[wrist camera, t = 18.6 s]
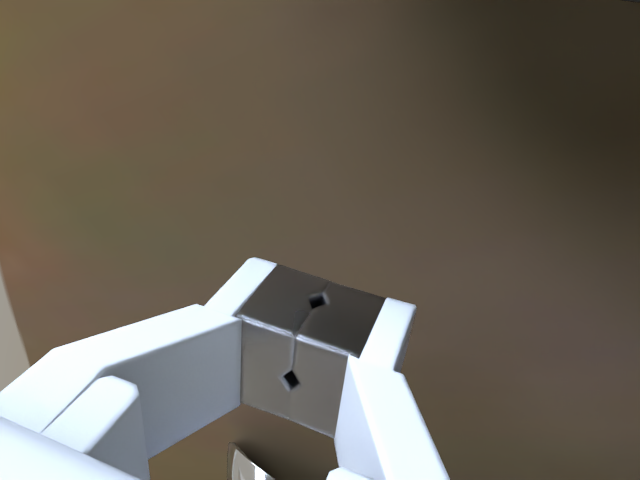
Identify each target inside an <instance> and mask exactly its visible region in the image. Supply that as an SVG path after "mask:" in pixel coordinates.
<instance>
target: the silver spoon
mask: <svg viewBox="0 0 640 480" xmlns="http://www.w3.org/2000/svg"><path fill="white" fill-rule="evenodd" d="M227 480H276V479H275V478H273V477H272V476H270V475H269V474H268V473H266V472H265V471H264V470H262V469H261V468H260V467H259V466H257V465H256V464H255V463H254V462H253V461H251V460H250V459H249V458H248V457H247V456H246V455H245V454H244V453H243V452H242V450H241V449H240V448H239V447H238V446H237V445H236V444H235V443H234V442H229V443H228V452H227Z"/></svg>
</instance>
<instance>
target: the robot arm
mask: <svg viewBox="0 0 640 480" xmlns="http://www.w3.org/2000/svg"><path fill="white" fill-rule="evenodd" d="M416 309H417V308H416V305H413V304H410V303H406V302H402V301H399V300H395V299H391V298H384V297H381V296H377V295H374V294H370V293H367V292H364V291H360V290H357V289H354V288H350V287H347V286H344V285H340V284H337V283H334V282H332V281H329V280H326V279H323V278H320V277H316V276H313V275H310V274H307V273H304V272H301V271H298V270H295V269H292V268H289V267H286V266H283V265H278V264H276V263H273V262H270V261H266V260H263V259H260V258H257V257H253V258H250V259H248V260H247V261H246V262H245V263H244V264H243V265H242V266H241V267H240V269H239V270H238V271H237V272H236V273H235V274H234V275H233V276H232V277H231V278H230V279H229V280H228V281H227V282H226V283H225V284H224V286H223V287H222V288H221V289H220V290H219V291H218V292H217V293H216V294H215V295H214V296H213V297H212V298H211V299H210V300H209V301H208V302H207V304H206V305H205V306H201V305H198V304H195V305H191V306H188V307H185V308H182V309H179V310H175V311H172V312H169V313H166V314H163V315H159V316H156V317H153V318H150V319H147V320H143V321H140V322H137V323H134V324H131V325H128V326H124V327H121V328H118V329H115V330H112V331H108V332H105V333H102V334H99V335H96V336H92V337H89V338H86V339H83V340H80V341H76V342H73V343H70V344H67V345H64V346H60V347H57V348H54V349H52V350H51V351H50V352H49V353H47V354H46V355H45V356H44V357H43V358H41V359H40V360H39V361H38V362H36V363H35V364H34V365H33V366H32V367H30V368H29V369H28V370H27V371H26V372H24V373H23V374H22V375H21V376H20V377H18V378H17V379H16V380H15V381H13V382H12V383H11V384H10V385H8V386H7V387H6V388H5V389H4V390H2V391H1V392H0V480H150V474H149V466H148V459H150V458H151V457H153V456H155V455H156V454H158V453H160V452H162V451H163V450H165V449H167V448H168V447H170V446H172V445H173V444H175V443H177V442H179V441H180V440H182V439H184V438H185V437H187V436H189V435H190V434H192V433H194V432H196V431H197V430H199V429H201V428H202V427H204V426H206V425H207V424H209V423H211V422H213V421H214V420H216V419H218V418H219V417H221V416H223V415H224V414H226V413H228V412H230V411H231V410H233V409H235V408H236V407H238V406H240V403H243V404H246V405H249V406H252V407H255V408H257V409H260V410H263V411H266V412H269V413H272V414H274V415H277V416H280V417H283V418H286V419H288V420H291V421H293V422H296V423H298V424H300V425H303V426H305V427H308V428H310V429H312V430H315V431H317V432H320V433H322V434H325V435H327V436H329V437H332V438H334V444H335V449H336V454H337V459H338V465H339V468H337V469H335V470H332V471H330V472H329V474H328V477H327V479H326V480H450V478H449V476H448V474H447V472H446V469H445V467H444V465H443V462H442V460H441V458H440V456H439V453H438V451H437V449H436V446H435V444H434V442H433V440H432V437H431V435H430V433H429V431H428V428H427V426H426V424H425V421H424V419H423V417H422V415H421V412H420V410H419V408H418V405H417V403H416V401H415V399H414V396H413V394H412V392H411V389H410V387H409V385H408V383H407V380H406V378H405V376H404V374H402V373H401V369H402V365H403V362H404V358H405V354H406V350H407V346H408V342H409V338H410V334H411V331H412V327H413V323H414V319H415V315H416Z"/></svg>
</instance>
